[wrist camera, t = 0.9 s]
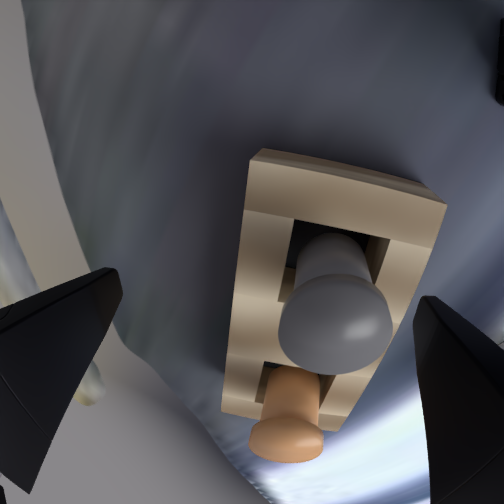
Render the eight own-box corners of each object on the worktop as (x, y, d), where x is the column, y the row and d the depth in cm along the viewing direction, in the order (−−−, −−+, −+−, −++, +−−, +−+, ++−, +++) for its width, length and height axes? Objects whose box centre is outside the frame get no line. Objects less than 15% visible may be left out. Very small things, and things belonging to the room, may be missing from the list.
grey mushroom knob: (383, 235, 16) (410, 299, 10) (358, 305, 18) (368, 380, 13) (298, 217, 16) (290, 276, 11) (282, 291, 18) (269, 364, 13)
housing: (262, 148, 18) (250, 159, 14) (423, 183, 17) (447, 204, 13) (231, 377, 27) (220, 411, 24) (337, 396, 26) (337, 431, 23)
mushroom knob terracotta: (333, 366, 20) (332, 437, 15) (316, 403, 22) (311, 466, 17) (268, 355, 21) (253, 425, 16) (258, 393, 23) (244, 456, 18)
